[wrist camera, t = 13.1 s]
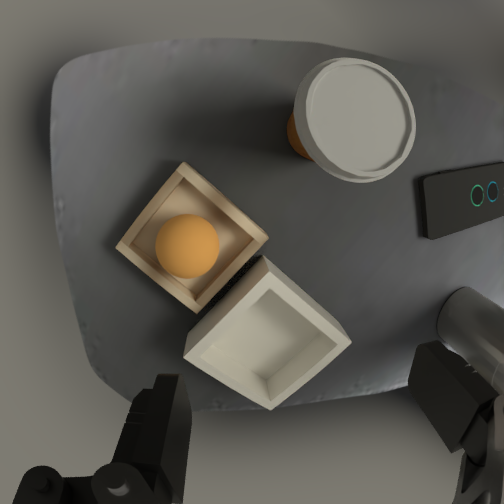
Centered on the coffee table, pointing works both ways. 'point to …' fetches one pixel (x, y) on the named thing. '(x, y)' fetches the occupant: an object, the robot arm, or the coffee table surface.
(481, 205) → the smart home device
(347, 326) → the coffee table surface
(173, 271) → the ball
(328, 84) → the disposable coffee cup
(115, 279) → the coffee table surface
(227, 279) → the tray
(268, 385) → the white square bin
